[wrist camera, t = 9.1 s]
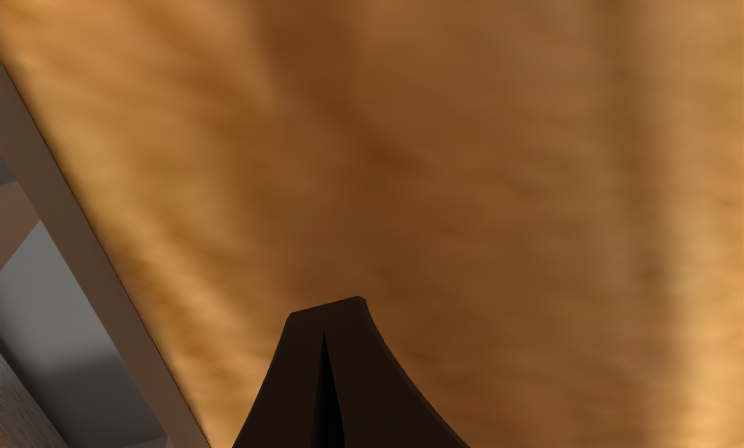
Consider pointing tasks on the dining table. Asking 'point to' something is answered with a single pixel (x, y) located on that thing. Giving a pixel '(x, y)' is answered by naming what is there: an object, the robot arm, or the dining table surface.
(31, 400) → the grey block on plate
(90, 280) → the gauge base
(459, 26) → the dining table surface
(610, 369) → the dining table surface
